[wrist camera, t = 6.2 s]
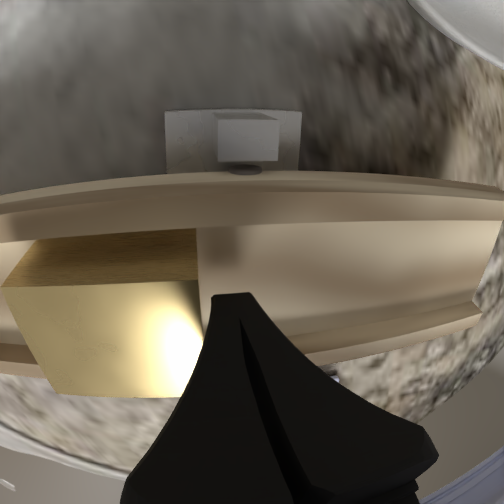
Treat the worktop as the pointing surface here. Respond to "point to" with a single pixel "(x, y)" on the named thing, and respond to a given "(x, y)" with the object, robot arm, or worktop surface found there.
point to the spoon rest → (468, 24)
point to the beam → (289, 249)
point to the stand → (232, 139)
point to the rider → (111, 311)
